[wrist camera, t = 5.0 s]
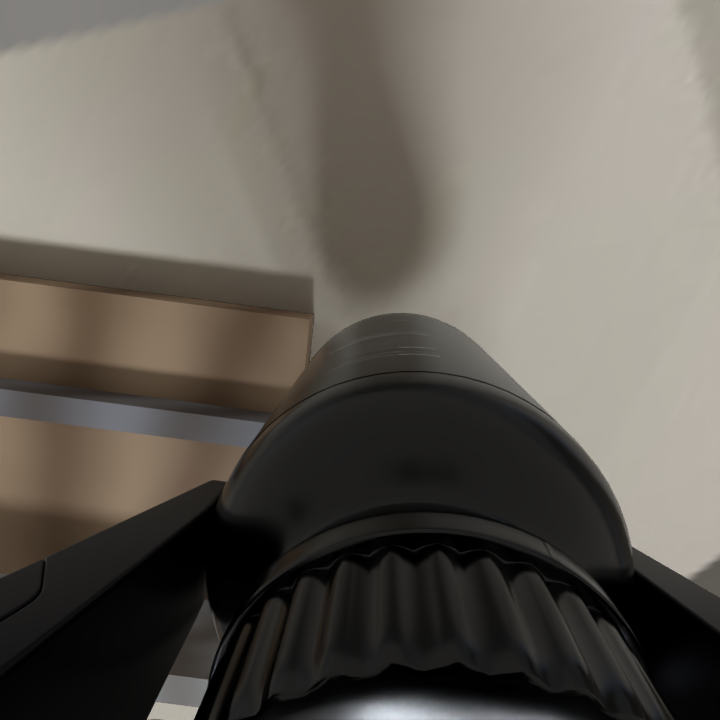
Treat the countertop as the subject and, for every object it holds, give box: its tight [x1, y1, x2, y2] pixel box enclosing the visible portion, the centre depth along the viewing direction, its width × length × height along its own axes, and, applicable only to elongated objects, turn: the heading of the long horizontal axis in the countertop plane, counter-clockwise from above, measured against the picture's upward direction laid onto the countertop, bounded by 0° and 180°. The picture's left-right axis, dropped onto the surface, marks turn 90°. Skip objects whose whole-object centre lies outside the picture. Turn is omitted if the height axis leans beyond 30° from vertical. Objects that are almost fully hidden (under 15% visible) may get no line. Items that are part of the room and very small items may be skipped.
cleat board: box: [0, 274, 314, 707], centre depth 19 cm, size 20×16×6 cm
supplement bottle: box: [194, 313, 678, 720], centre depth 9 cm, size 7×7×12 cm
